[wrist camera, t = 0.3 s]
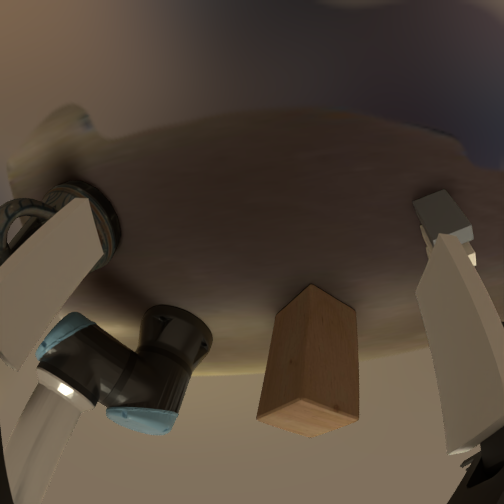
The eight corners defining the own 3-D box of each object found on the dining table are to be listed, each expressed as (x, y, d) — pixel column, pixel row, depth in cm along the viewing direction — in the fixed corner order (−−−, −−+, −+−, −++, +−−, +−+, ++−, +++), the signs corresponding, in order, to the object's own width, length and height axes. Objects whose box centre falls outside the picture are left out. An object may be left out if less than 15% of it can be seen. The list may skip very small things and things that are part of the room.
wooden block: (310, 282, 46) (300, 400, 31) (356, 310, 48) (360, 421, 32) (274, 314, 52) (254, 420, 37) (318, 338, 54) (310, 439, 38)
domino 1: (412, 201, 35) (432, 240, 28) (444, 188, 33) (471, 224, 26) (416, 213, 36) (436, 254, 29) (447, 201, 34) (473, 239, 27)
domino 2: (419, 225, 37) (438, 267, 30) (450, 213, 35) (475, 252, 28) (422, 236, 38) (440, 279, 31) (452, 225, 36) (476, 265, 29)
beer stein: (80, 262, 55) (10, 356, 35) (34, 179, 44) (-62, 261, 25) (139, 250, 49) (59, 370, 30) (86, 147, 39) (-41, 242, 19)
